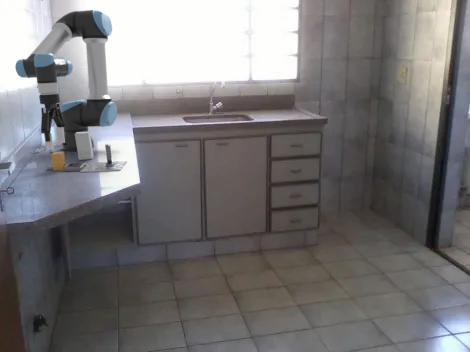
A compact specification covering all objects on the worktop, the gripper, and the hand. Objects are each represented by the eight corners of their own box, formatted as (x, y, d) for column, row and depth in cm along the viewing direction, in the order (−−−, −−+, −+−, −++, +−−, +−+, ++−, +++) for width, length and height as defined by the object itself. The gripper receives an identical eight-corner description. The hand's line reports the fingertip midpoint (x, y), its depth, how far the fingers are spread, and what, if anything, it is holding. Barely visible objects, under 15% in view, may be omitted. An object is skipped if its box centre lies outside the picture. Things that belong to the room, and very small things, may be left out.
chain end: (44, 172, 201) (41, 155, 199) (50, 167, 208) (48, 151, 206) (81, 170, 201) (78, 153, 199) (86, 165, 208) (84, 149, 206)
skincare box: (94, 157, 223) (90, 130, 220) (92, 159, 219) (88, 132, 216) (80, 158, 223) (76, 131, 219) (78, 160, 218) (74, 133, 215)
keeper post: (89, 164, 211) (86, 142, 208) (126, 162, 211) (124, 141, 208) (80, 172, 198) (77, 149, 196) (120, 170, 198) (117, 147, 195)
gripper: (50, 91, 208) (57, 140, 213) (26, 97, 184) (35, 152, 189) (68, 90, 208) (74, 139, 213) (46, 96, 184) (54, 151, 189)
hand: (56, 146), depth 201 cm, fingers open, 13 cm apart
